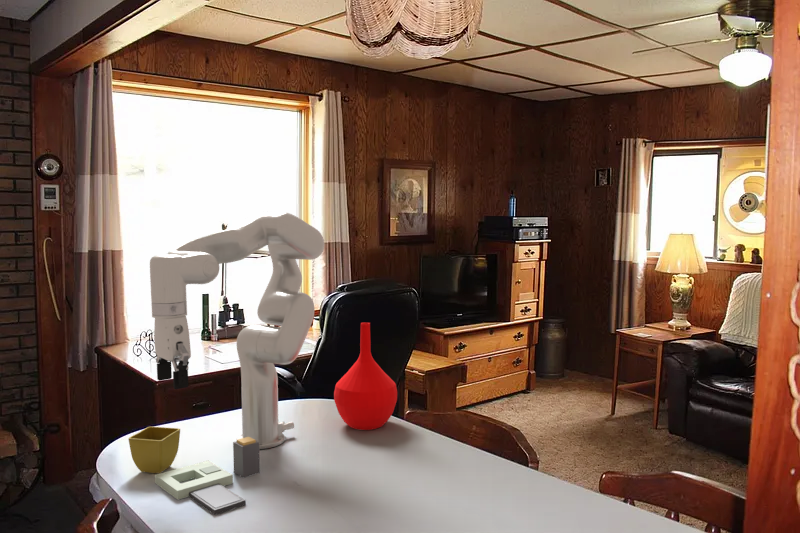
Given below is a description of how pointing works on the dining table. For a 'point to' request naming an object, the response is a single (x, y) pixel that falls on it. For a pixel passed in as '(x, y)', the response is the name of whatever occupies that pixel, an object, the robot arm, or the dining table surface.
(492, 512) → the dining table surface
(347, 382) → the vase
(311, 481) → the dining table surface
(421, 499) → the dining table surface
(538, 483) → the dining table surface
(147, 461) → the flower pot
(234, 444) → the block
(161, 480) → the outlet plate
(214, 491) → the phone slab
